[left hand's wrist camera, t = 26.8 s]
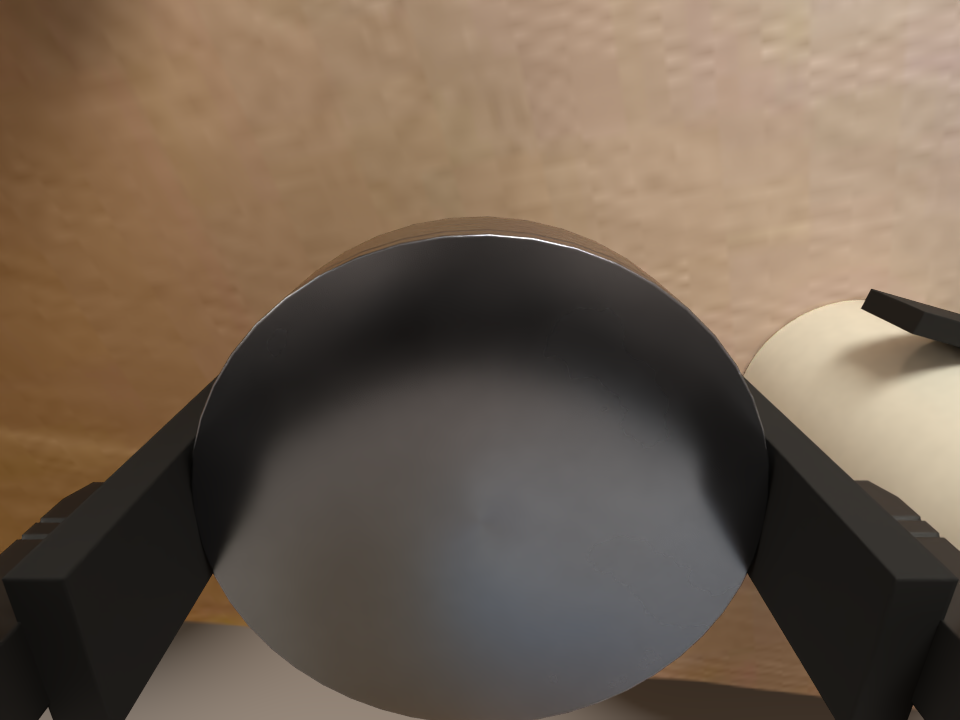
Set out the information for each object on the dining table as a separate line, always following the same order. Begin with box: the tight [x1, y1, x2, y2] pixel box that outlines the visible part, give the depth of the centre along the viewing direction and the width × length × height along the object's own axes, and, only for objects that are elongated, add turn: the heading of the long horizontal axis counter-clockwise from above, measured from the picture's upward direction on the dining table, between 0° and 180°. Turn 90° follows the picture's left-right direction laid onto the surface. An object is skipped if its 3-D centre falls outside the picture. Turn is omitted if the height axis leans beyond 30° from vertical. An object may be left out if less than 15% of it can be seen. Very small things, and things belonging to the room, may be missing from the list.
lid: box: [191, 217, 769, 720], centre depth 11 cm, size 10×10×2 cm
